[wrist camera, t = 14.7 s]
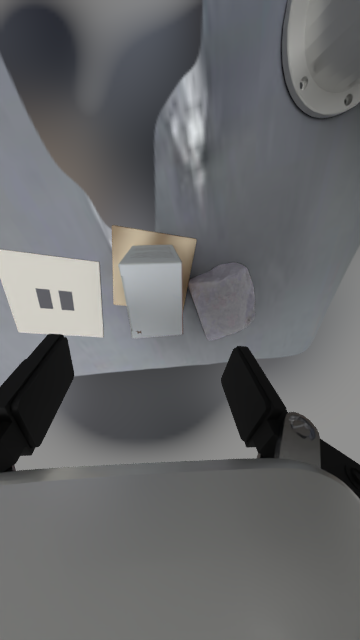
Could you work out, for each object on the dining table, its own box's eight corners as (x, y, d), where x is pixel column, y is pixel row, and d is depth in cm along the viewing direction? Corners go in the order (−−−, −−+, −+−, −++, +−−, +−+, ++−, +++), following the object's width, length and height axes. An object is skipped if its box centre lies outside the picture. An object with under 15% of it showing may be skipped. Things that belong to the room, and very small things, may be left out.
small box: (174, 297, 29) (183, 337, 20) (138, 299, 28) (131, 341, 19) (173, 243, 24) (184, 261, 15) (131, 244, 24) (117, 264, 15)
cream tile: (99, 261, 25) (98, 262, 25) (103, 336, 32) (103, 337, 32) (-9, 248, 23) (-11, 248, 23) (19, 331, 30) (18, 332, 29)
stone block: (234, 253, 29) (180, 280, 28) (254, 258, 25) (191, 290, 24) (245, 311, 36) (201, 334, 35) (262, 322, 32) (212, 349, 31)
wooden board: (195, 238, 25) (196, 239, 25) (182, 308, 31) (183, 310, 30) (113, 225, 23) (111, 225, 23) (114, 301, 29) (113, 304, 28)
